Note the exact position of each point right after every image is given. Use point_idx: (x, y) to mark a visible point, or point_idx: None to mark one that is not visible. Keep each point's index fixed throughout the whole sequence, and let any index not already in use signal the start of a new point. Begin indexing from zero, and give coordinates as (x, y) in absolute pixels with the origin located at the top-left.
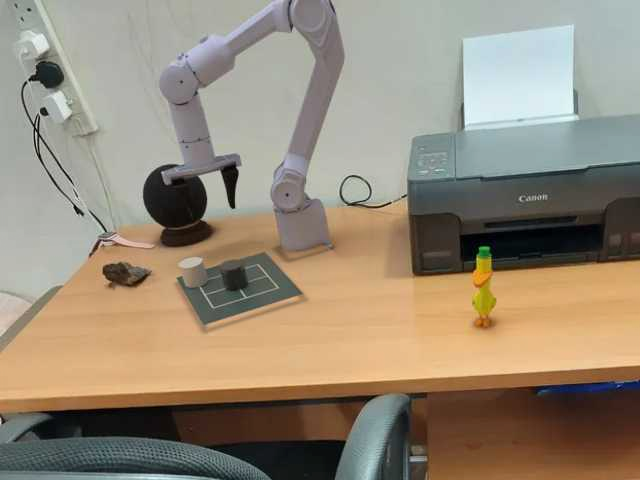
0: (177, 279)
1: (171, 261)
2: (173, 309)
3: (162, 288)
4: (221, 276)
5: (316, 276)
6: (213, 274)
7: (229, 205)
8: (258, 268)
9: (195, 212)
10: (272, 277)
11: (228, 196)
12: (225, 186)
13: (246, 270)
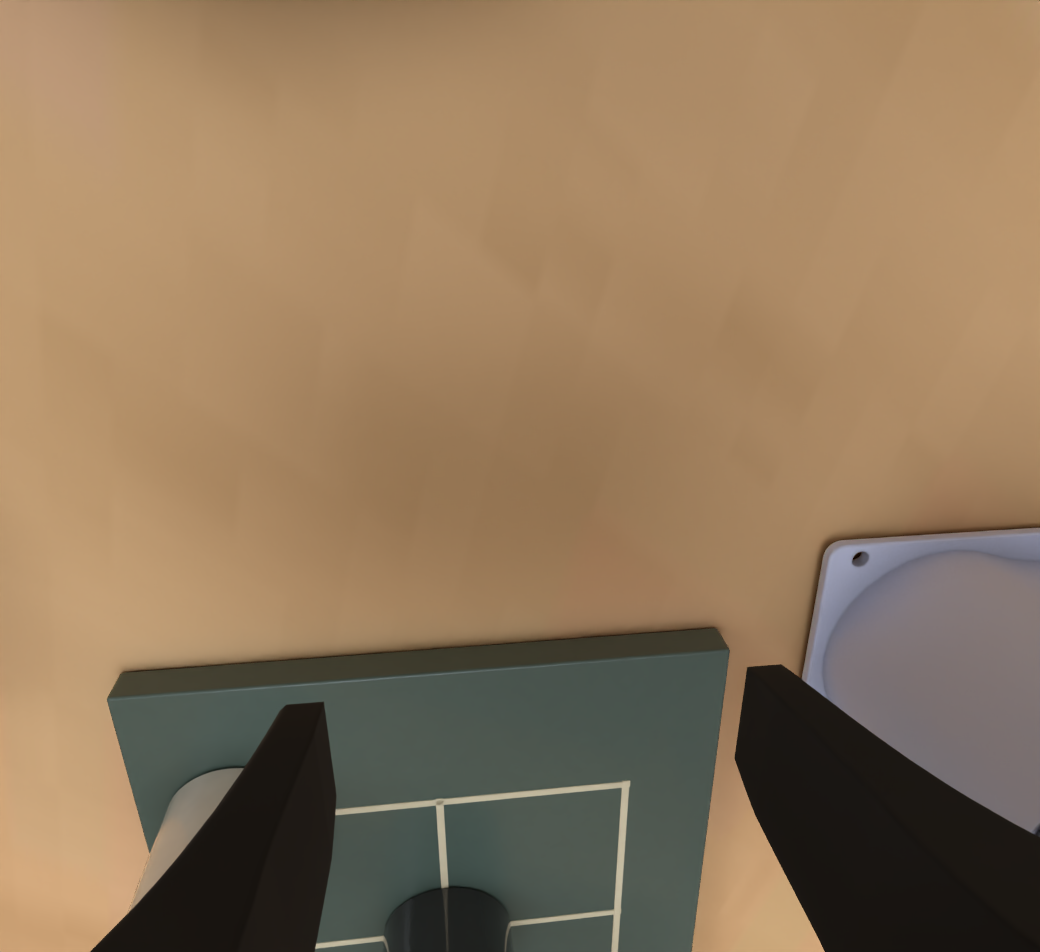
0: (117, 730)
1: (68, 268)
2: (93, 921)
3: (13, 683)
4: (396, 817)
5: (804, 920)
6: (356, 772)
7: (751, 681)
8: (609, 825)
9: (327, 878)
10: (629, 934)
11: (802, 803)
12: (881, 840)
13: (544, 815)
